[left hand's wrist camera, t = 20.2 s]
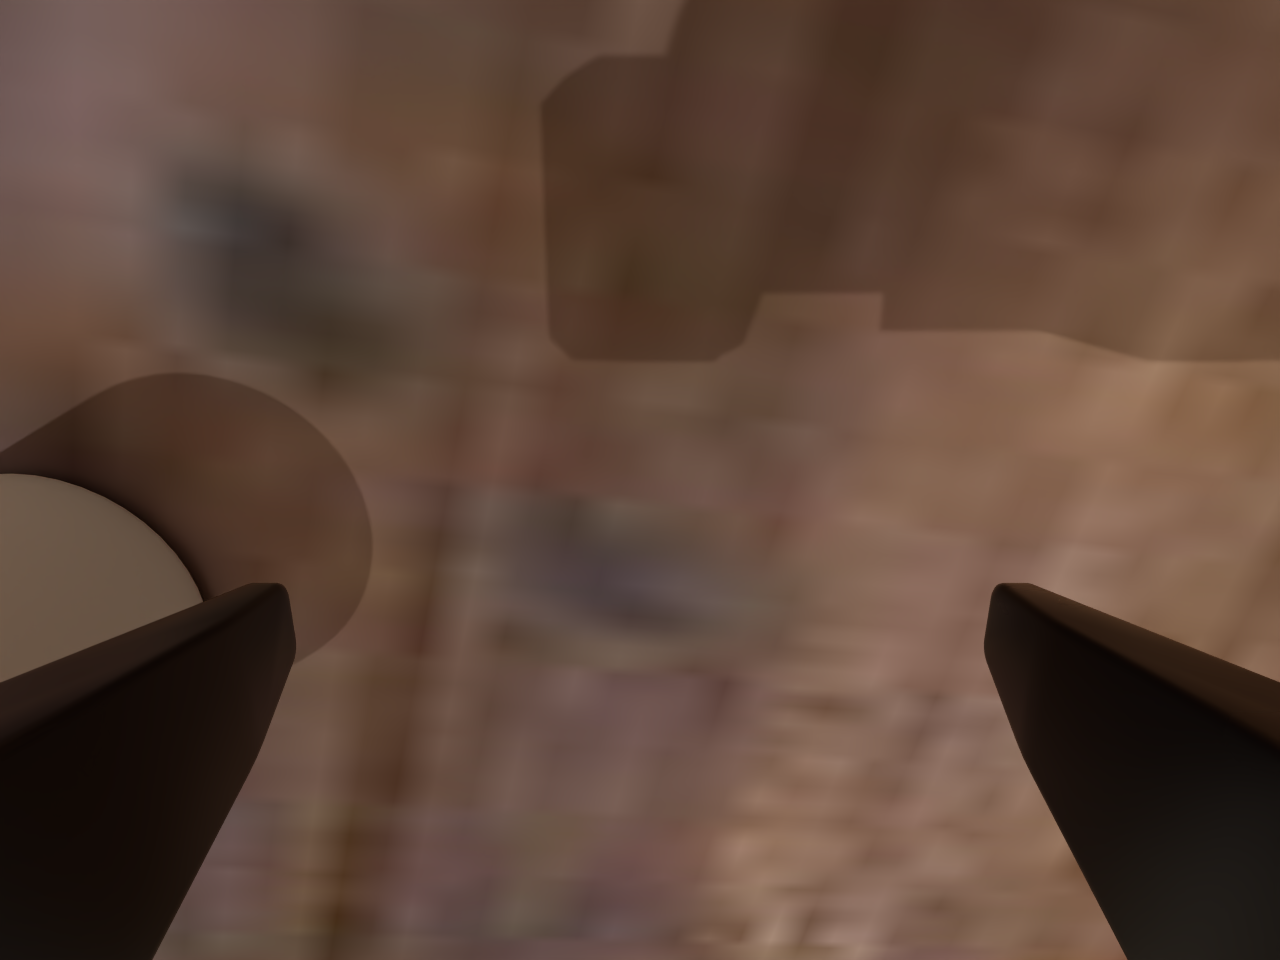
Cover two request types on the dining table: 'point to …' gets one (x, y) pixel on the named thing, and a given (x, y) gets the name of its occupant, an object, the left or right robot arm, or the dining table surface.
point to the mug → (77, 572)
